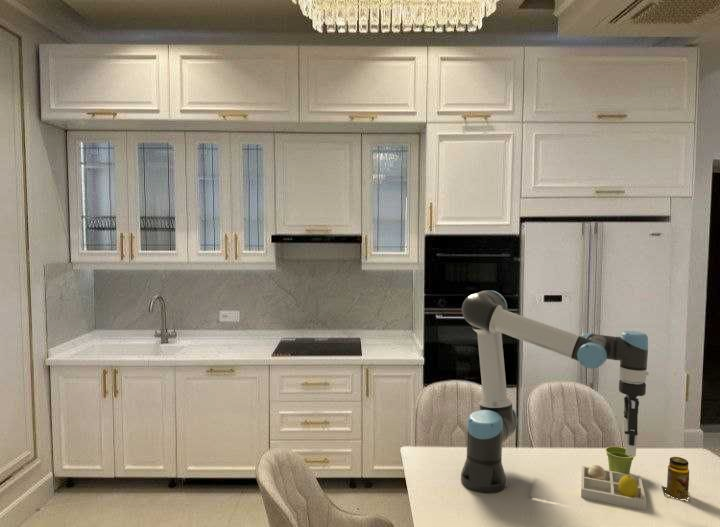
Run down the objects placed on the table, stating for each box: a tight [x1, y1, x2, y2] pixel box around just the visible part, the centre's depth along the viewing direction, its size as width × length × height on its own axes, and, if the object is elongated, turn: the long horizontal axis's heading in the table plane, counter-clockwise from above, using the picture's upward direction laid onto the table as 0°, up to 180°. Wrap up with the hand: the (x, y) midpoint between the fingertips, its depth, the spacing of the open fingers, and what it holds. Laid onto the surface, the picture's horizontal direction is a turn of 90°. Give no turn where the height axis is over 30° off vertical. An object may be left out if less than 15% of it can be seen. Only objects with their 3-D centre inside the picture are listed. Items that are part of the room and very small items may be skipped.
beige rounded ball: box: [588, 464, 606, 480], centre depth 177 cm, size 6×6×6 cm
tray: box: [580, 465, 647, 511], centre depth 172 cm, size 18×18×4 cm
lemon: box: [618, 475, 638, 498], centre depth 165 cm, size 6×6×8 cm
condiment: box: [661, 456, 691, 503], centre depth 171 cm, size 7×8×12 cm
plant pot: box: [604, 446, 636, 474], centre depth 184 cm, size 9×9×9 cm
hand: (629, 446), depth 165 cm, fingers open, 13 cm apart
